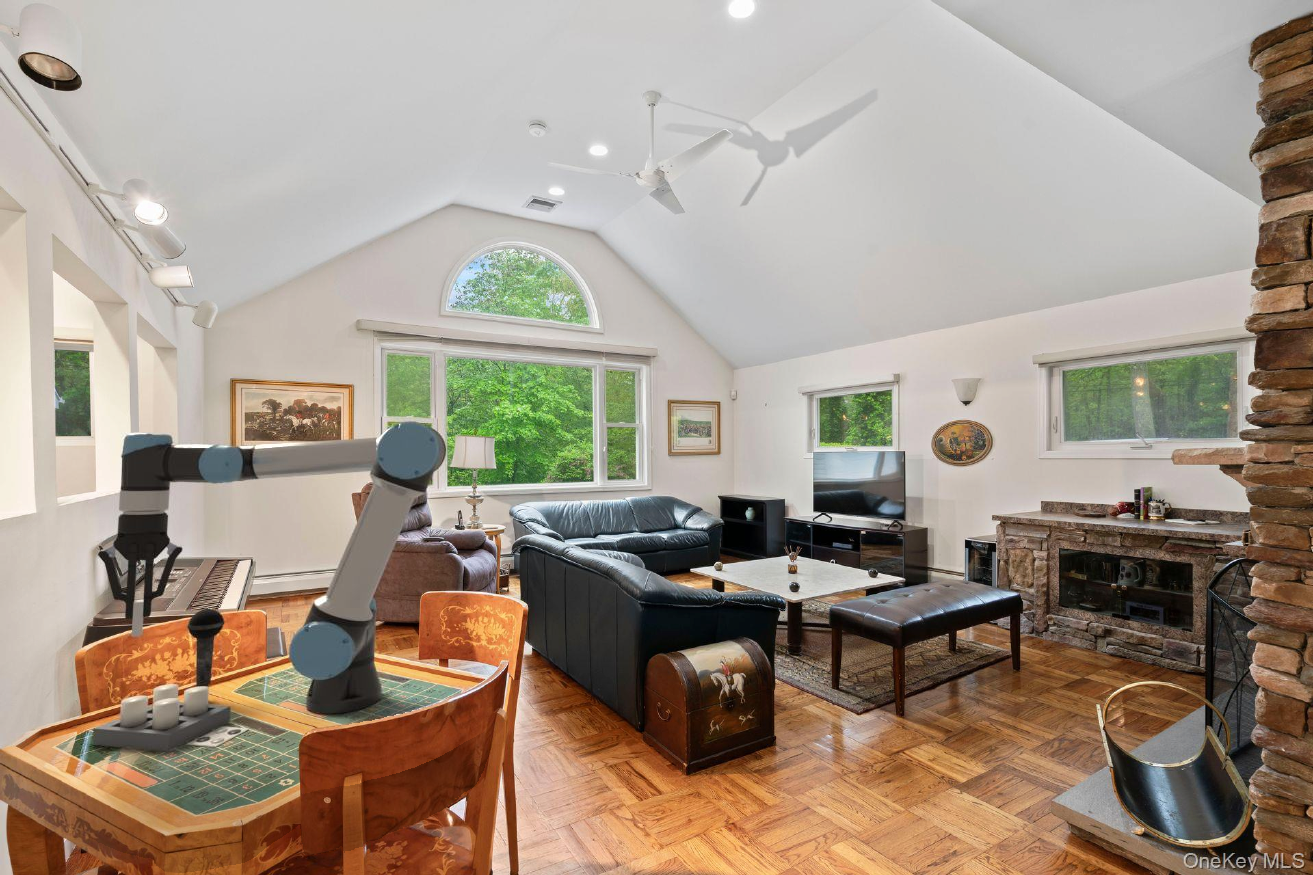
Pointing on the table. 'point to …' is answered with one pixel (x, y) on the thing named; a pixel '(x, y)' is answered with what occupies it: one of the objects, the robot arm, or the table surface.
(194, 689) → the button
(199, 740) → the card
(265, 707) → the table surface
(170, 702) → the button
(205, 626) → the microphone
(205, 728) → the button board
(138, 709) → the button
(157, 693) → the button
